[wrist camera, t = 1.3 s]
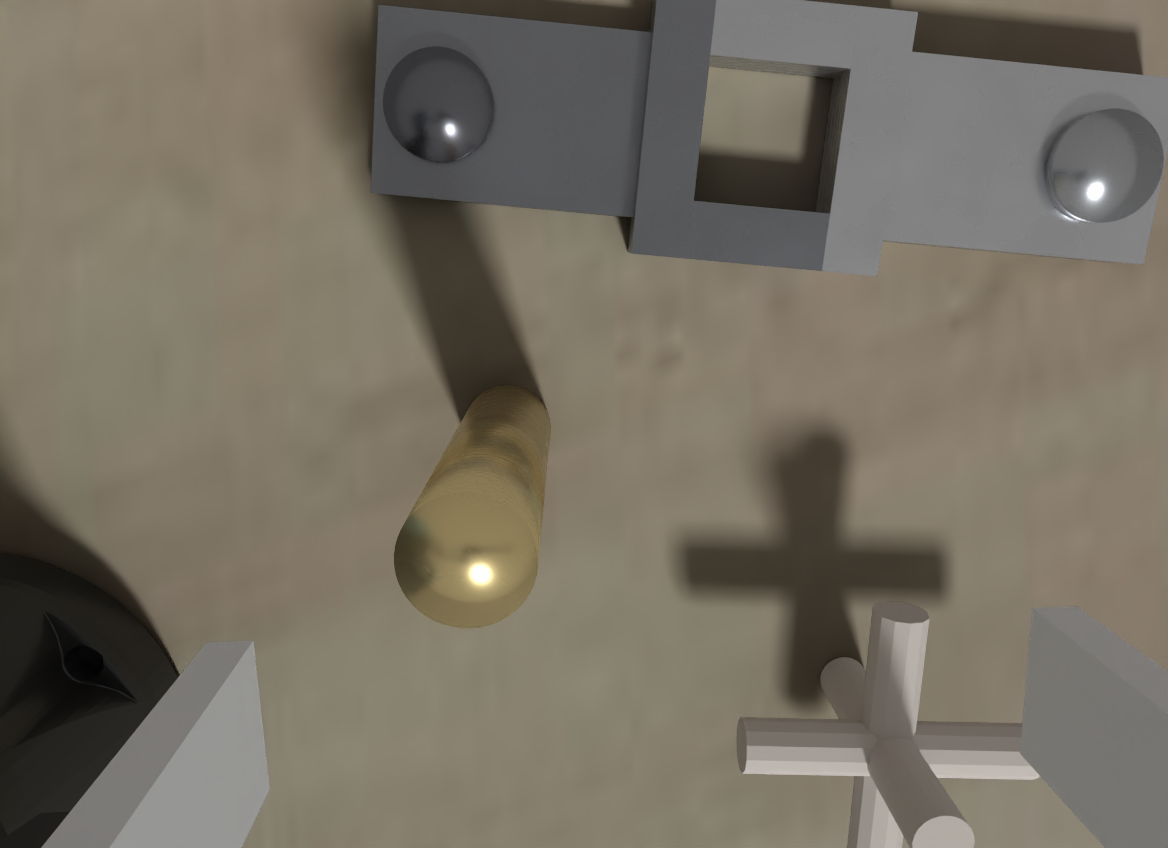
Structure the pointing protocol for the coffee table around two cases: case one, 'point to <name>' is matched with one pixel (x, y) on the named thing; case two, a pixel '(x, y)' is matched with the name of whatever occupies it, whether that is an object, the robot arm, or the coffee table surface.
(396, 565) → the pin
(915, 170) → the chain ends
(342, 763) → the coffee table surface
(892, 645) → the pipe connector
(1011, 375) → the coffee table surface
